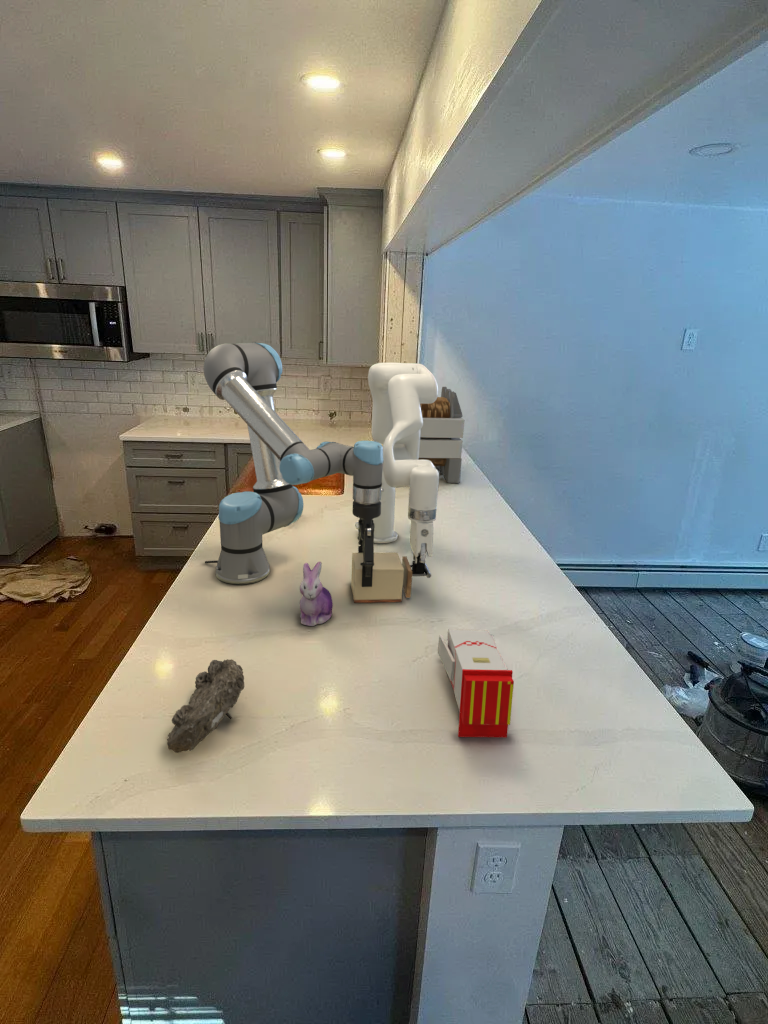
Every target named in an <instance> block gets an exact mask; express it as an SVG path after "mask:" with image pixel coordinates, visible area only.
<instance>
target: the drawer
mask: <svg viewBox="0 0 768 1024" xmlns="http://www.w3.org/2000/svg"><path fill="white" fill-rule="evenodd" d="M401 558H402V559H401V563H402V566H403V569H404V572H403V586H402V591H403V592H404V595H405V598H407V599H408V598H411V596H412V595H411V594H412V583H413V577H426V578H427V579H430V578H431V577H432V574H431V571H430V568H429V567H428V565H427V563H426V562H425V571H424V574H412V572H413V571H412V564H410V562H409V558H408V556H405V555H403V556H402V557H401Z"/></svg>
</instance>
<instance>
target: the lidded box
mask: <svg viewBox="0 0 768 1024" xmlns="http://www.w3.org/2000/svg"><path fill="white" fill-rule="evenodd" d="M351 553H352V554H351V576H350V577H351V579H350V586H351V591H352V598H353V603H354V604H357V603H358V604H360V603H366V604H367V603H368V604H369V603H370V604H371V603H402V601H403V600H402V599H403V598H402V597H403V587H402V586H403V572H404V569H403V566H402V560H401V558H400V556H399V553H398V552H374V566H373V576H372V587H362V566H361V565H360V563H363V553H358V552H351Z"/></svg>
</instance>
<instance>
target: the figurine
mask: <svg viewBox="0 0 768 1024" xmlns="http://www.w3.org/2000/svg"><path fill="white" fill-rule="evenodd" d="M322 564H323V563H322V561H318V562H317V563H316V564H315V565H314V566H313V568H312V569H311V566H310V565H309V563H307V562H305V563H303V566H302V572H303V577H302V580H301V582H300V585H299V592H300V594H301V598H300V600H299V609H300V613H299V614H300V615H299V618H300V624H302V625H304V626H309V627H314V626H317V625H322V624H324V623H326V622H328V621H329V620H330V619H331V617H332V615H333V609H334V608H333V607H334V603H333V597H332V594H331V592H330V591H329V590H328V589H327V588H326V587H325V586H323V584H322V581H321V579H320V574H321V571H322V566H323V565H322Z"/></svg>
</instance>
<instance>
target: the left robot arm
mask: <svg viewBox="0 0 768 1024" xmlns="http://www.w3.org/2000/svg"><path fill="white" fill-rule="evenodd" d="M282 374H283V364H282V359H281V357H280V355H279V353H278V352H277V350H276V349H274V348H273V346H271V345H270V344H267V343H264V342H263V343H262V342H256V341H255V342H241V343H239V342H238V343H221V344H218V345H216V346H214V347H213V348H211V349H210V351H208V353H207V355H206V356H205V359H204V362H203V375H204V379H205V381H206V383H207V385H208V387H209V389H210V390H211V391H212V393H213V394H214V395H215V396H216V397H217V398H218V399H219V400H222V401H226V402H227V404H228V405H229V406H230V407H231V408H232V409H233V410H234V412H235V413H236V414H237V415H238V416H239V417H240V418H241V419H242V421H243V422H244V423H245V424H246V425H247V431H248V437H249V442H250V449H251V453H252V454H251V455H252V459H253V465H254V471H255V477H256V482H255V483H254V485H253V486H252V490H253V491H248V490H247V491H246V490H245V491H242V492H240V491H237V492H234V493H231V494H230V493H229V494H228V495H226V496H225V497H224V498H222V499H221V500H220V502H219V504H218V517H217V518H218V520H219V536H220V537H219V540H220V552H219V554H218V555H219V556H218V559H217V560H205V561H204V564H216V566H215V576H216V579H218V581H221V582H223V583H225V584H231V585H250V584H254V583H257V582H260V581H262V580H264V579H266V578H267V577H268V576H269V575H270V572H271V569H270V567H271V566H270V563H269V560H268V558H267V555H266V553H265V550H264V546H263V535H265V534H268V533H271V532H274V531H276V530H279V529H282V528H285V527H288V526H290V525H292V524H294V523H296V522H297V521H298V520H300V518H301V517H302V514H303V511H304V498H303V495H302V492H299V489H298V488H297V487H296V486H297V485H302V484H308V483H310V482H312V481H316V480H318V479H322V478H325V477H329V476H332V475H335V474H342V475H347V476H350V477H352V500H353V501H352V515H353V516H354V517H355V518H358V521H357V522H358V524H359V529H358V534H357V540H358V543H357V544H358V548H357V549H358V550H357V553H363V563H360V565H361V566H362V587H372V576H373V566H374V553H375V543H374V528H375V525H374V523H373V520H372V519H374V518H377V517H379V516H380V515H381V502H380V500H381V492H384V489H383V488H382V470H383V461H384V459H383V444H380V443H379V442H375V441H374V440H358V441H356V442H355V443H354V445H353V446H351V445H347V444H343V443H339V442H336V441H322V442H321V443H320V444H319V445H317V447H316V448H313V449H310V448H309V447H308V446H307V445H306V443H304V442H303V440H302V439H301V438H300V437H299V436H298V435H297V434H296V433H295V432H294V430H292V429H291V428H290V426H289V425H288V424H287V423H286V422H285V420H283V419H282V418H281V417H280V415H279V414H278V413H277V412H276V405H275V400H274V394H275V393H276V392H277V390H278V386H277V385H278V384H277V382H279V381H280V380H281V378H282V376H281V375H282Z"/></svg>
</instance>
